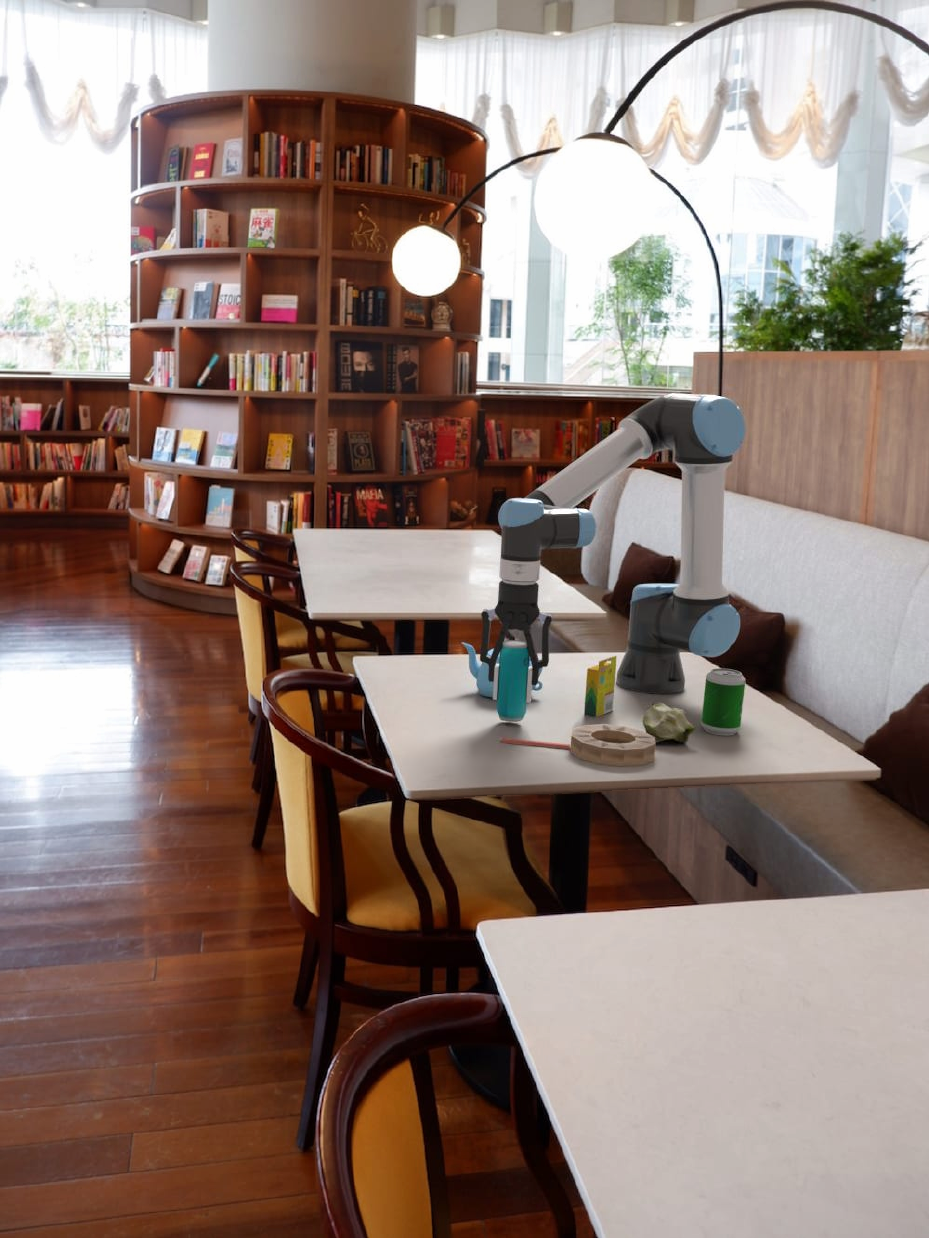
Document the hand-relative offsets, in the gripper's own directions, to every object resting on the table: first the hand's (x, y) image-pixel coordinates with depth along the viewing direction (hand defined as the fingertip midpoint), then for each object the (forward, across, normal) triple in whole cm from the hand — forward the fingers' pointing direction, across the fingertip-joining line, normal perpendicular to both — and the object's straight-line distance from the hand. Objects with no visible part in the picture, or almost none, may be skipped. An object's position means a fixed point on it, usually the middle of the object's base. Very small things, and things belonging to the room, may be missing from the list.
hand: (512, 699), depth 230 cm
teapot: (+5, -4, +22) cm, 23 cm away
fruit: (+6, +30, -1) cm, 30 cm away
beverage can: (+4, 0, 0) cm, 4 cm away
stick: (+5, +6, -12) cm, 14 cm away
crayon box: (+5, +17, +14) cm, 22 cm away
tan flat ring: (+5, +20, -12) cm, 24 cm away
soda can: (+6, +41, +9) cm, 42 cm away
